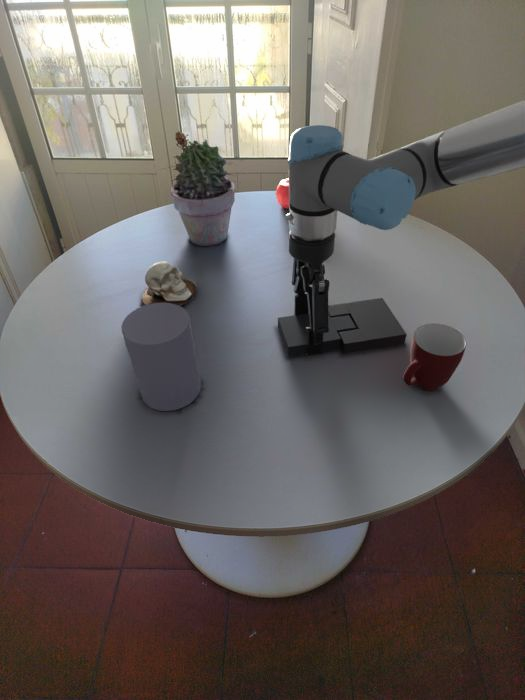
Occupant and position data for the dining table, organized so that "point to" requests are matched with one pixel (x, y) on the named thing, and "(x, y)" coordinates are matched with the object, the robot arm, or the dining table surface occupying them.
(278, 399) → the dining table surface
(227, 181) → the potted plant
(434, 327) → the mug
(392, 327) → the base pad
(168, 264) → the skull
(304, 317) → the pad
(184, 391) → the container
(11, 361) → the dining table surface
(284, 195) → the apple
